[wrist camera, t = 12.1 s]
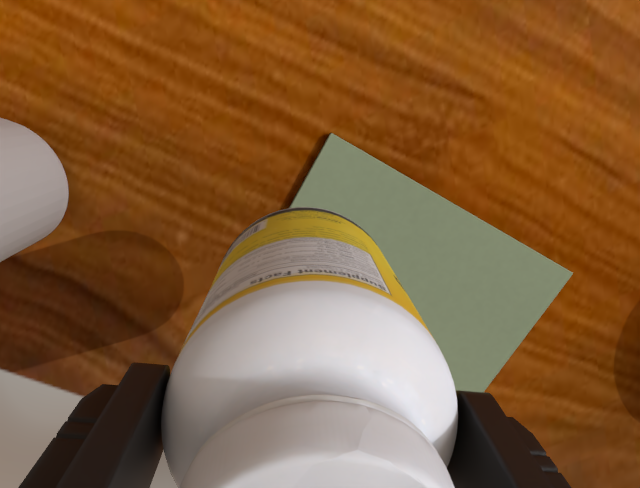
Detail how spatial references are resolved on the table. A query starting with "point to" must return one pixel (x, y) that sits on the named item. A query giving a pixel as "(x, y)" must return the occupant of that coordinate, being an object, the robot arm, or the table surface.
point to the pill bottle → (308, 369)
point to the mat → (440, 260)
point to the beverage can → (28, 188)
